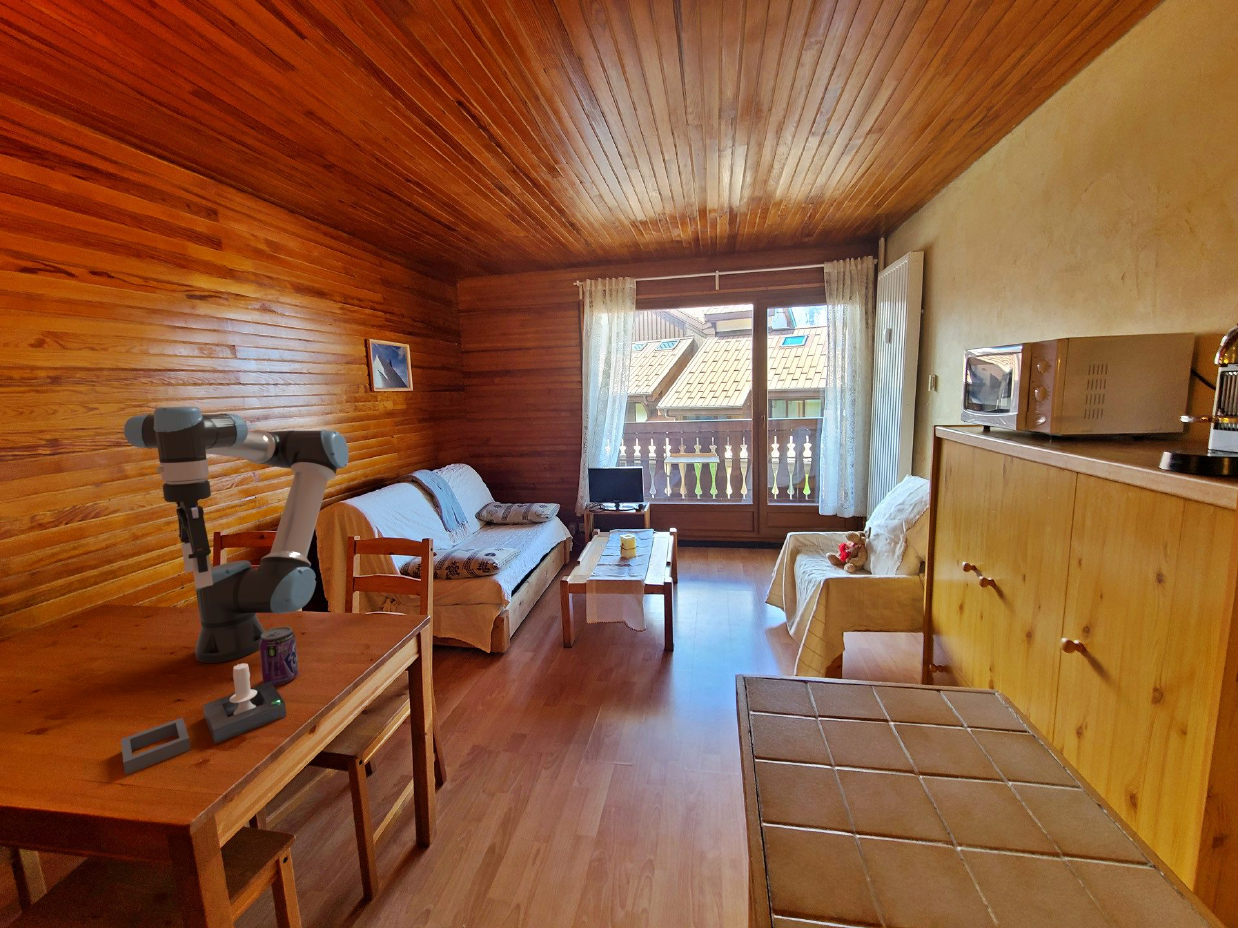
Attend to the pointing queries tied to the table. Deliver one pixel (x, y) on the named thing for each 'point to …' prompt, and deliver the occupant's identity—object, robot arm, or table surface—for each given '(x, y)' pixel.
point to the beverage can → (278, 655)
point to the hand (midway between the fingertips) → (198, 578)
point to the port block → (243, 713)
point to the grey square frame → (157, 752)
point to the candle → (242, 688)
